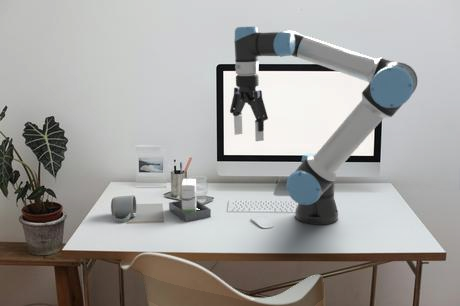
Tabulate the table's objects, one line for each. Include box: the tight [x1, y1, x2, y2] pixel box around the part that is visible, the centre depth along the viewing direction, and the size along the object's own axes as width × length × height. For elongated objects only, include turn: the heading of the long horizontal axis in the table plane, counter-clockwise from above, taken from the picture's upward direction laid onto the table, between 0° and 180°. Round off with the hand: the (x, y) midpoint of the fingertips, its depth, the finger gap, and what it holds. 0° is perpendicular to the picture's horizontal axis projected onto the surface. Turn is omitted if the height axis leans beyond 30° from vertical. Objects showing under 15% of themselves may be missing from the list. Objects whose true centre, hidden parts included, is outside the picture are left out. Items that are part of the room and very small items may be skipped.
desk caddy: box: [168, 199, 212, 223], centre depth 207 cm, size 10×14×3 cm
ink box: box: [181, 178, 197, 213], centre depth 206 cm, size 9×5×12 cm, turn 0°
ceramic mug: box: [110, 195, 138, 224], centre depth 202 cm, size 11×8×8 cm
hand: (248, 137), depth 192 cm, fingers open, 13 cm apart
